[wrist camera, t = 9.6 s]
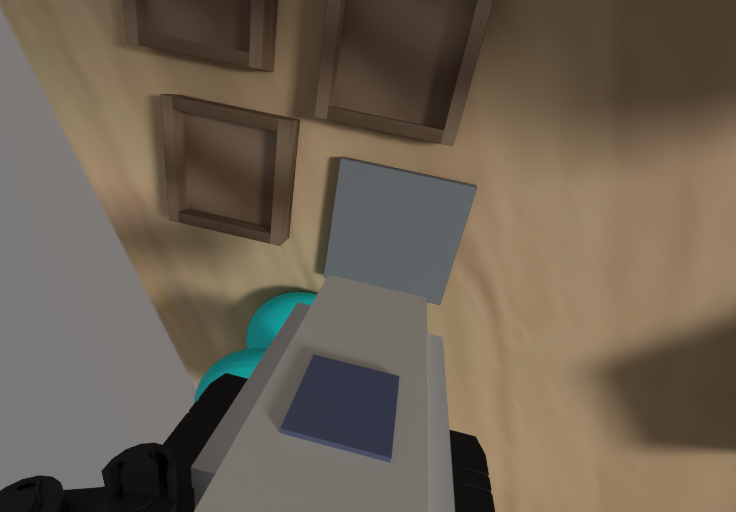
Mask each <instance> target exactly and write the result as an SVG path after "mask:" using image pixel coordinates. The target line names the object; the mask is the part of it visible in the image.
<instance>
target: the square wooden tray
mask: <svg viewBox="0 0 736 512" xmlns="http://www.w3.org/2000/svg"><path fill="white" fill-rule="evenodd" d="M161 102H162V117H163V133H164V148H165V164H166V179H167V195H168V210H169V220H171V221H176V222H180V223H184V224H188V225H193V226H197V227H201V228H205V229H210V230H214V231H218V232H223V233H227V234H231V235H235V236H240V237H244V238H248V239H252V240H257V241H261V242H265V243H269V244H274V245H278V246H281V245H282V244H283V243H284V242H285V241H286V240H287V239H288V238H289V232H290V221H291V210H292V199H293V188H294V178H295V167H296V156H297V145H298V134H299V123H300V120H298V119H293V118H289V117H284V116H279V115H274V114H270V113H265V112H260V111H255V110H250V109H246V108H241V107H236V106H231V105H226V104H222V103H217V102H212V101H207V100H202V99H198V98H193V97H188V96H183V95H174V94H161Z"/></svg>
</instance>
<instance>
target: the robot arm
mask: <svg viewBox="0 0 736 512" xmlns="http://www.w3.org/2000/svg"><path fill="white" fill-rule="evenodd" d="M310 307H311V305H307V304H303V303H299V302H297V304H296V306H295V307H294V309H293V310H292V312H291V313H290V315H289V316H288V318H287V319H286V321H285V323H284V324H283V326H282V327H281V329H280V330H279V332H278V333H277V335H276V336H275V338H274V340H273V341H272V343H271V344H270V346H269V347H268V349H267V350H266V352H265V353H264V355H263V357H262V358H261V360H260V361H259V363H258V364H257V366H256V367H255V369H254V370H253V372H252V374H251V375H250V377H249V378H244V377H240V376H236V375H232V374H229V373H225V374H223V375H222V376H220V377H219V378H217V379H216V380H214V381H213V382H211V383H210V384H209V385H208V387H207V388H206V389H205V391H204V392H203V393H202V394H201V396H200V397H199V399H198V401H196V402H195V404H194V405H193V406H192V407H191V409H190V410H189V413H187V414H186V415H185V417H184V418H183V419H182V420H181V422H180V423H179V424H178V426H177V427H176V428H175V429H174V431H173V432H172V433H171V435H170V436H169V437H168V439H167V440H166V441H165V442H164V444H163V445H161V444H157V443H145V444H139V445H137V446H134V447H131V448H129V449H126V450H124V451H123V452H122V453H120V454H119V455H117V456H116V457H114V458H113V459H112V460H111V461H110V462H109V463H108V464H107V466H106V467H105V468H104V469H103V470H102V475H103V480H104V484H105V487H98V488H86V489H72V490H63V488H62V485H61V483H60V482H59V481H58V480H56V479H55V478H54V477H49V476H35V477H31V478H26V479H22V480H20V481H18V482H16V483H14V484H11V485H9V486H7V487H5V488H4V489H2V490H1V491H0V512H194V511H195V509H196V507H197V505H198V504H199V502H200V500H201V498H202V497H203V495H204V493H205V491H206V489H207V488H208V486H209V484H210V482H211V481H212V479H213V477H214V475H215V474H216V472H217V470H218V468H219V467H220V465H221V463H222V461H223V460H224V458H225V456H226V454H227V453H228V451H229V449H230V447H231V446H232V444H233V442H234V440H235V439H236V437H237V435H238V433H239V432H240V430H241V428H242V426H243V424H244V423H245V421H246V419H247V417H248V416H249V414H250V412H251V410H252V409H253V407H254V405H255V403H256V402H257V400H258V398H259V396H260V395H261V393H262V391H263V389H264V388H265V386H266V384H267V382H268V381H269V379H270V377H271V375H272V374H273V372H274V370H275V368H276V367H277V365H278V363H279V361H280V360H281V358H282V356H283V354H284V352H285V351H286V349H287V347H288V345H289V344H290V342H291V340H292V338H293V337H294V335H295V333H296V331H297V330H298V328H299V326H300V324H301V323H302V321H303V319H304V317H305V316H306V314H307V312H308V310H309V309H310ZM427 399H428V512H495V508H494V502H493V496H492V494H491V485H490V479H489V477H488V475H489V473H488V467H487V461H486V455H485V453H484V451H483V449H482V447H481V446H480V444H479V442H478V440H477V438H476V437H475V436H471V435H468V434H464V433H460V432H456V431H452V430H449V419H448V405H447V391H446V377H445V363H444V349H443V337H439V336H435V335H431V334H427Z"/></svg>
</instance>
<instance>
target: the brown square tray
mask: <svg viewBox="0 0 736 512" xmlns="http://www.w3.org/2000/svg"><path fill="white" fill-rule="evenodd" d="M492 3H493V0H327V6H326V16H325V25H324V34H323V43H322V53H321V62H320V71H319V80H318V90H317V99H316V108H315V118H320V119H325V120H330V121H335V122H339V123H344V124H349V125H354V126H359V127H364V128H368V129H373V130H378V131H383V132H388V133H392V134H397V135H402V136H407V137H412V138H417V139H421V140H426V141H431V142H436V143H441V144H445V145H450V146H453V145H454V142H455V138H456V135H457V131H458V127H459V124H460V120H461V116H462V113H463V109H464V105H465V102H466V98H467V95H468V91H469V87H470V84H471V80H472V76H473V73H474V69H475V65H476V62H477V58H478V54H479V51H480V47H481V44H482V40H483V36H484V33H485V29H486V25H487V22H488V18H489V14H490V11H491V7H492Z"/></svg>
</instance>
